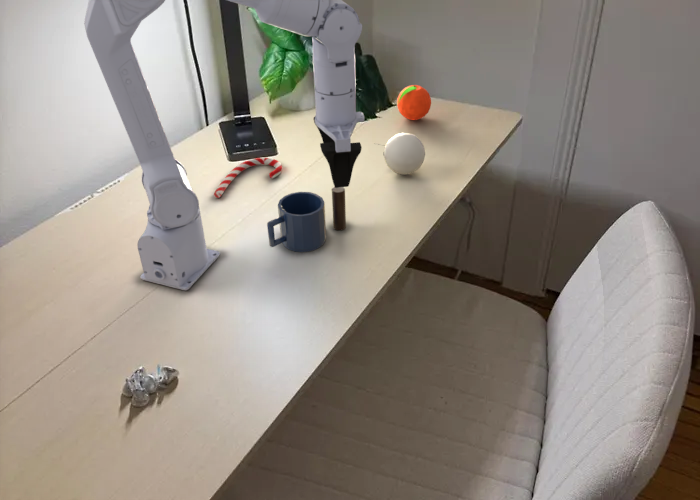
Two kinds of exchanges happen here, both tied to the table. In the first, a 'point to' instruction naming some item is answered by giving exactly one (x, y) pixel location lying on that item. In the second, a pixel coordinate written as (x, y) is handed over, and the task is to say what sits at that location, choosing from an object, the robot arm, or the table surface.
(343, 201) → the stick
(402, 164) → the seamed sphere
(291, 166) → the table surface
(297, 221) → the mug
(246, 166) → the candy cane
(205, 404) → the table surface
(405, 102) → the clementine
